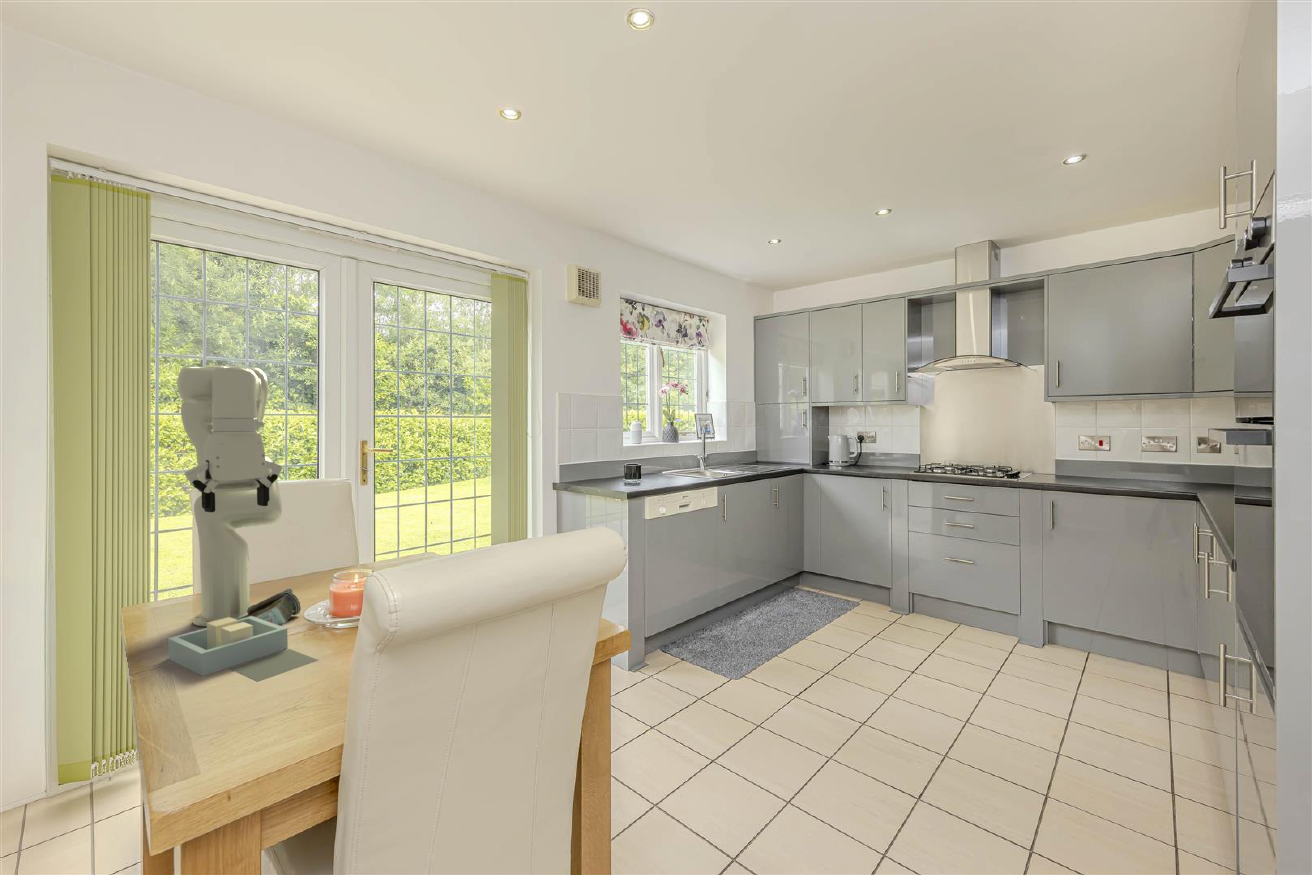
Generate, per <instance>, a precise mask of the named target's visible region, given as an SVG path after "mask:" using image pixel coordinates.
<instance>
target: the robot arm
mask: <svg viewBox="0 0 1312 875" xmlns="http://www.w3.org/2000/svg"><path fill="white" fill-rule="evenodd" d="M177 376H178V377H177V391H178V394H179V397H180V398H181V399H182V402H181V406H180V416H181V417H180V418H181V421H182V425H183V428H184V431H185V433H186V435H187V437H188V438H189V440H190V441H191V442H190V443H192V445H193V447H194V449H195V452H196V461H197V465H196V466H195V467H192V468H190V469H188V470H186V471H184V476H185V477H186V479H187V480H188V482H189V483H190V485H191V486H192V487H193V488H195V489H197V491H198V492H200V493H201V495H200V496H198V497H197V498H196V500H194V503H193V504H194V505H193V512H194V514H193V515H194V519H195V524H196V528H197V533H198V542H199V543H198V545H199V561H200V562H199V565H200V566H199V568H200V570H199V572H200V573H199V574H200V575H199V576H200V606H201V608H200V609H201V613H199V614H197V615H196V616H194V617H193V619H192V623H193V625H194V626H196V627H197V626H199V627H207V623H208V622H212V621H216V620H220V619H223V618H227V617H230V618H233V619H236V620H238V619H242V618H246V617H250V616H248V613H247V609H248V608H249V607H251V606H252V605H251V604H250V602H251V601H250V567H249V566H250V561H249V559H250V558H249V544H248V542H247V540H246V539H245V538H244V537H243V536H242V535H240V534H239V533H238V532H236V529H241V528H248V527H249V528H250V527H258V526H266V525H267V526H268V525H272V524H274V523H276V522H279V519H280V518H281V516H282V510H283V507H282V499H281V493H280V488H279V483H278V478H279V475H280V473H281V472H282V469H283V465H279V464H277V463H275V462H273V461H272V460H271V458H269V457H268V456H266V451H265V445H264V442H263V438H262V435H261V433H258V431H259V429H260V428H264V427H265V422H264V421H263V420H264V417H265V412H266V406H267V405H266V404H267V399H268V393H269V382H268V377H267V375H266V373H265V372H264V371H263V370H262V369H260V368H257V367H254V366H253V367H252V366H234V365H219V364H217V365H216V364H215V365H210V366H187V367H186V366H185V367H182V368H181V369H180V371H179V373H178V375H177Z"/></svg>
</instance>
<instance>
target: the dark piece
mask: <svg viewBox="0 0 1312 875" xmlns="http://www.w3.org/2000/svg"><path fill="white" fill-rule="evenodd" d="M250 606H251V607H249V608H248V609H247V613H248V616H253V617H256V618H259V619H262V620H265V621H268V622H271V623H273V624H276V625H279V626H280V624H284V625H285V624H286V623H287V622H288V621H289V620H290V618H291V617H292V616H296V615H298V614H300V613H301V602H300V600H299V599H298V597H297V596H296V595H295V594H294V593H293V589H291V588H288V589H285V590H283V591H281V592H278V593H276V594H274V595H272V596H271V597H268V598H266V599H264V600H261V601H260V602H258V603H256V604H252V605H250Z"/></svg>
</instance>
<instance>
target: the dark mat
mask: <svg viewBox="0 0 1312 875" xmlns="http://www.w3.org/2000/svg"><path fill="white" fill-rule="evenodd" d="M317 661H318V659H317V658H314V657H312V656H308V655H306V654H304V653H301V652H299V651H297V650H294V649H290V648H286V649H283V650H280V651H277V652H274V653H271V654H268V655H265V656H262V657H259V658H256V659H253V660H250V661H247V662H243V663H240V664H237V665H234V666H231V667H228V668H229V670H231V671H234V672H236V673H238V674H240V675H242V676H244V677H247V678H249V679H251V680H253V681H254V682H261V681H264V680H266V679H269V678H273V677H275V676H278V675H281V674H283V673H287V672H290V671H292V670H294V669H297V668H301V667H304V666H306V665H309V664H311V663H314V662H317Z"/></svg>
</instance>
